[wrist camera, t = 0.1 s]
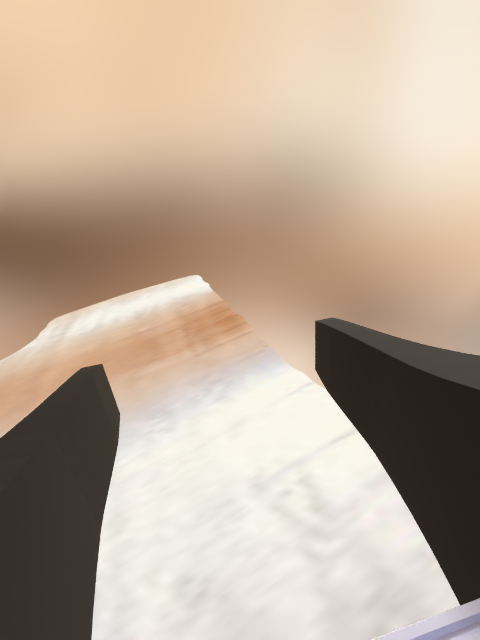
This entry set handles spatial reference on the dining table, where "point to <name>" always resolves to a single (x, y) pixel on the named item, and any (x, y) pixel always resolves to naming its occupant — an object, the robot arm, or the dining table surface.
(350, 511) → the dining table surface
